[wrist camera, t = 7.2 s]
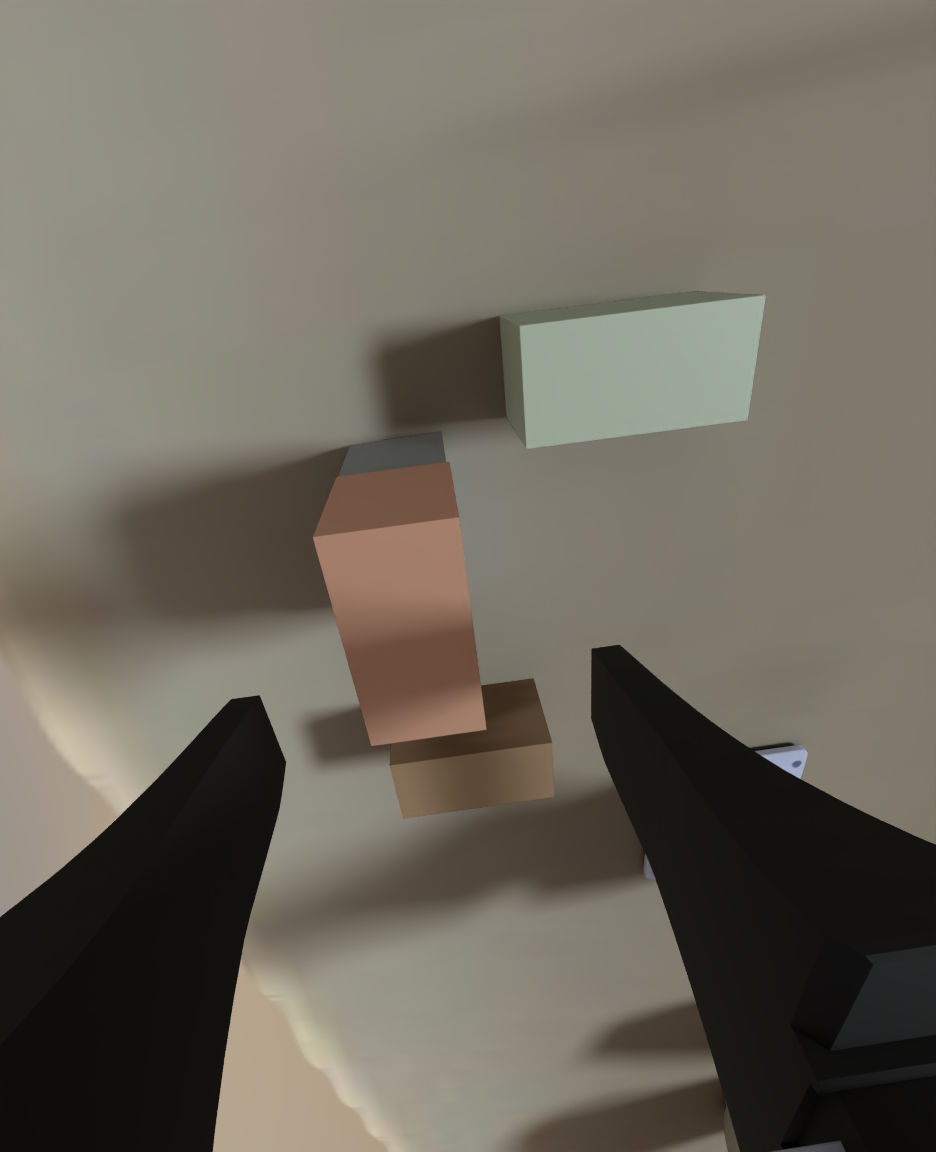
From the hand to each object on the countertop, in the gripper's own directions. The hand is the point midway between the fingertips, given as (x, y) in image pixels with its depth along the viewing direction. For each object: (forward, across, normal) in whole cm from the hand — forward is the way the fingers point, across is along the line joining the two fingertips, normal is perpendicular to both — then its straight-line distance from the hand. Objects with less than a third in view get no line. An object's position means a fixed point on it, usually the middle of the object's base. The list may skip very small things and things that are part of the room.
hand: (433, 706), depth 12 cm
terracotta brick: (+6, 0, 0) cm, 6 cm away
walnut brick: (+10, 0, +10) cm, 14 cm away
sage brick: (+10, -6, -5) cm, 13 cm away
